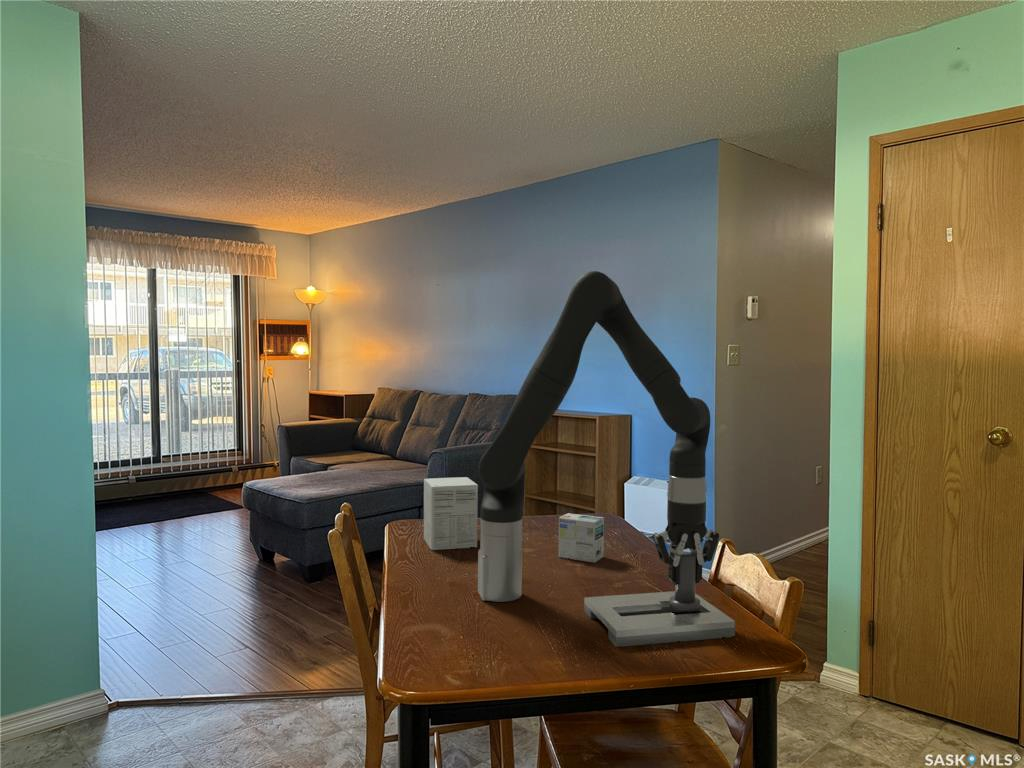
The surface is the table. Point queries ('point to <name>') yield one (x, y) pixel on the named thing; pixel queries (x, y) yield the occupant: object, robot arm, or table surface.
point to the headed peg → (686, 585)
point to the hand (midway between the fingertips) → (685, 582)
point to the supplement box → (450, 513)
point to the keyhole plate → (656, 619)
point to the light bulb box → (581, 537)
